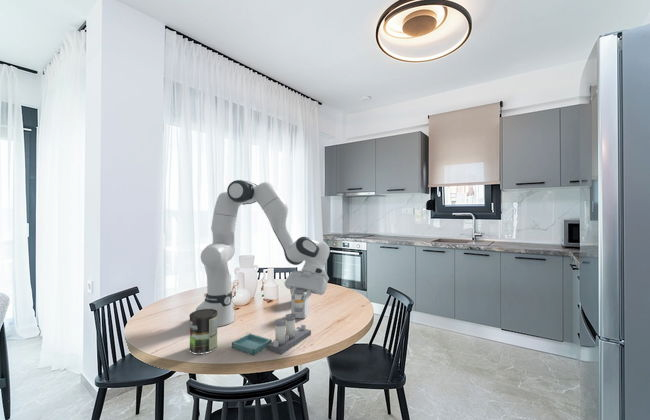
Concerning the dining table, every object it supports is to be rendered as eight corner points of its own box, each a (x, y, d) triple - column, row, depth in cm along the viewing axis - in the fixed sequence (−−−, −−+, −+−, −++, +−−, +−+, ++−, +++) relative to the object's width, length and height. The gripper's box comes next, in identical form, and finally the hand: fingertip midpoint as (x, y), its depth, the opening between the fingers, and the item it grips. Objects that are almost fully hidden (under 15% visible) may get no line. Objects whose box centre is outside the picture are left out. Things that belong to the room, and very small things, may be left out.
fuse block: (267, 349, 114) (267, 339, 114) (298, 331, 131) (298, 322, 131) (281, 354, 110) (281, 343, 110) (310, 334, 127) (310, 325, 127)
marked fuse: (292, 310, 125) (292, 290, 125) (297, 308, 129) (298, 287, 129) (299, 312, 123) (300, 291, 123) (305, 309, 127) (305, 289, 127)
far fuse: (273, 344, 114) (273, 321, 114) (279, 340, 118) (279, 317, 118) (281, 346, 112) (281, 323, 112) (287, 342, 116) (287, 319, 116)
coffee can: (195, 358, 108) (195, 320, 108) (185, 348, 115) (185, 313, 115) (222, 348, 115) (222, 313, 115) (211, 340, 122) (211, 306, 122)
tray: (231, 347, 116) (231, 342, 116) (250, 338, 124) (250, 333, 124) (253, 355, 109) (253, 349, 109) (271, 344, 118) (271, 339, 118)
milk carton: (304, 318, 146) (304, 281, 146) (291, 317, 147) (291, 280, 147) (308, 313, 153) (308, 277, 153) (295, 313, 154) (295, 277, 154)
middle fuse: (283, 337, 120) (283, 316, 120) (289, 334, 123) (289, 313, 123) (291, 340, 118) (291, 317, 118) (297, 336, 121) (297, 314, 121)
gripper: (290, 266, 137) (276, 291, 129) (327, 271, 127) (314, 299, 118) (295, 273, 141) (282, 299, 133) (332, 279, 131) (320, 307, 122)
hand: (298, 299), depth 125 cm, fingers closed on marked fuse, 4 cm apart
